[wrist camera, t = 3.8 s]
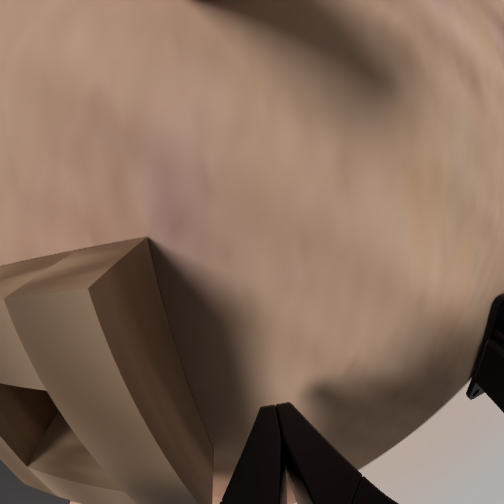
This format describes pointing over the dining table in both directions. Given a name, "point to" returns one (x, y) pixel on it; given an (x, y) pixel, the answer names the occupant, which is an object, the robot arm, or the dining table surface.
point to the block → (97, 382)
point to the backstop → (23, 491)
